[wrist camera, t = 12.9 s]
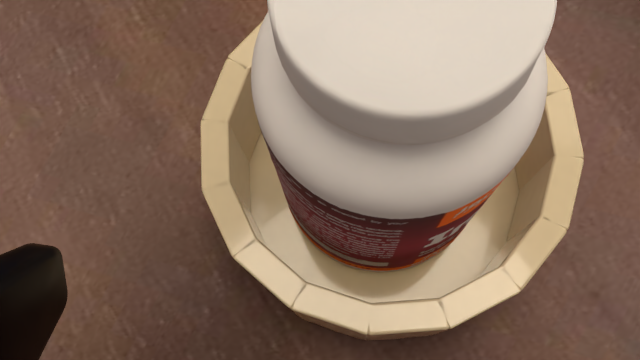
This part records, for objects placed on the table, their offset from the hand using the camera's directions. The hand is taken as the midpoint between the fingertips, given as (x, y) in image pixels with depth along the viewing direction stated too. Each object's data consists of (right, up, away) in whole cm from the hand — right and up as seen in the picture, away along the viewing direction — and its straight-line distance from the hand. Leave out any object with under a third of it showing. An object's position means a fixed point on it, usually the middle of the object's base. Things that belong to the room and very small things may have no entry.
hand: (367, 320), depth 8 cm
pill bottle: (+1, +2, +12) cm, 12 cm away
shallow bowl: (+1, +2, +13) cm, 13 cm away
